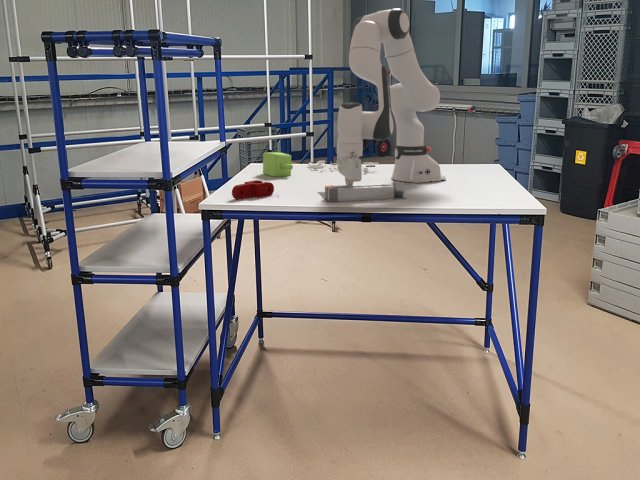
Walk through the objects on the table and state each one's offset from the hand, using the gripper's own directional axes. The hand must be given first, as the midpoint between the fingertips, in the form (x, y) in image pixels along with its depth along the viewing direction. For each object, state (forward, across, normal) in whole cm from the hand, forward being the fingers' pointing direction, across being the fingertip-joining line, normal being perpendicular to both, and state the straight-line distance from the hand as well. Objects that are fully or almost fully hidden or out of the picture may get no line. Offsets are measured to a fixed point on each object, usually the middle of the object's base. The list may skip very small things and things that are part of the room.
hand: (349, 190), depth 205 cm
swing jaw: (+2, -2, -3) cm, 4 cm away
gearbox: (+4, +57, +17) cm, 59 cm away
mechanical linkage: (+4, +12, +33) cm, 36 cm away
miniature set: (+4, +64, -12) cm, 65 cm away
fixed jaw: (+2, -5, -5) cm, 7 cm away
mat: (+3, +1, -5) cm, 6 cm away
